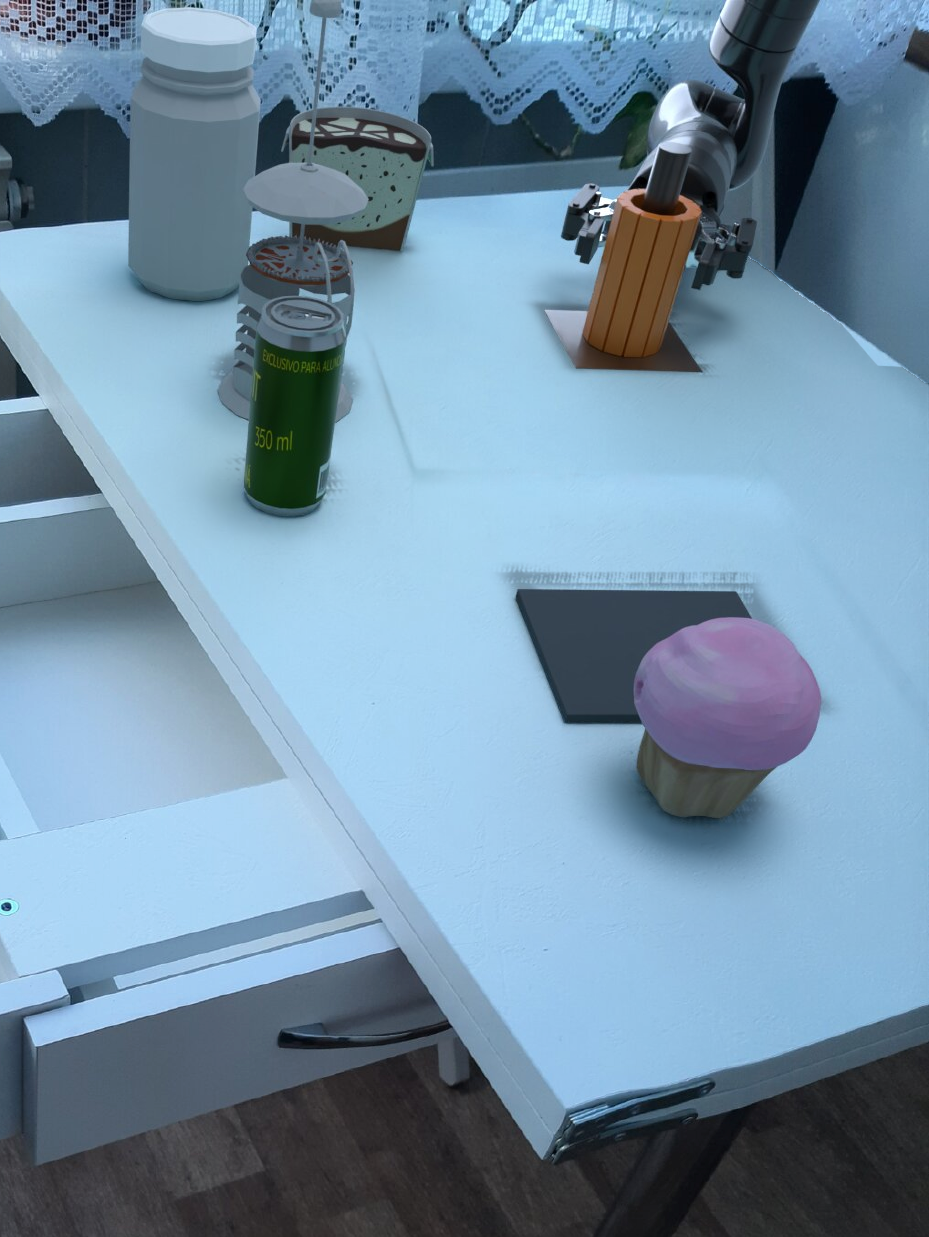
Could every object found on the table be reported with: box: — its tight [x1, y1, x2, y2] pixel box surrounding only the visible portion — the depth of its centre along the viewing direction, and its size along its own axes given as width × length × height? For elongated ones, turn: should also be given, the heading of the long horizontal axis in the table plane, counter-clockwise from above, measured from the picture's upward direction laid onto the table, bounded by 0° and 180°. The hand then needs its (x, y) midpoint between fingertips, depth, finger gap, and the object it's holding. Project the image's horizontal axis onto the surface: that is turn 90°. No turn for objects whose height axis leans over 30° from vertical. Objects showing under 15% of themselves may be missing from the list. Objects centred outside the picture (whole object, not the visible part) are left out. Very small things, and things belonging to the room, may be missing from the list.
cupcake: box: [634, 617, 822, 819], centre depth 69 cm, size 9×9×10 cm
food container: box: [280, 106, 435, 253], centre depth 115 cm, size 12×6×10 cm, turn 88°
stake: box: [543, 142, 704, 373], centre depth 103 cm, size 10×10×15 cm
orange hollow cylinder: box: [583, 189, 702, 357], centre depth 104 cm, size 6×6×10 cm
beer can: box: [243, 295, 347, 518], centre depth 86 cm, size 5×5×12 cm
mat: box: [515, 588, 753, 724], centre depth 81 cm, size 14×12×1 cm
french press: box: [217, 0, 369, 423], centre depth 90 cm, size 10×12×25 cm
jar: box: [127, 6, 262, 302], centre depth 105 cm, size 10×10×18 cm
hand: (642, 263), depth 103 cm, fingers open, 8 cm apart
